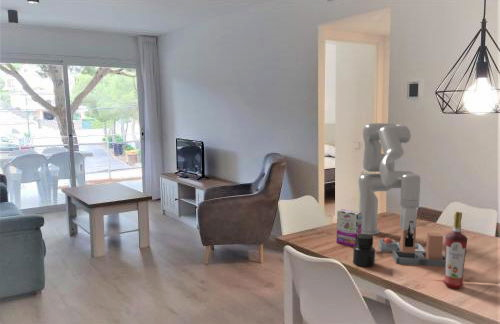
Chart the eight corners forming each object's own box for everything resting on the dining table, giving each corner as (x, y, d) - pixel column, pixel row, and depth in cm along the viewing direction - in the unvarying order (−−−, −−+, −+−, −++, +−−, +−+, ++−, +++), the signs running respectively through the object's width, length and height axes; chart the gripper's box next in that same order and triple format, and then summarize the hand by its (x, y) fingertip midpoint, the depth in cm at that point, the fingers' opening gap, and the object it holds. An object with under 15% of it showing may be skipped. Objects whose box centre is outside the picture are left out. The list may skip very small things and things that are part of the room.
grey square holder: (380, 252, 194) (381, 243, 194) (378, 248, 201) (378, 238, 201) (396, 253, 193) (397, 244, 193) (393, 248, 200) (394, 239, 200)
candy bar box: (361, 245, 204) (363, 212, 202) (356, 248, 201) (357, 214, 199) (341, 240, 212) (342, 208, 210) (335, 243, 208) (337, 210, 206)
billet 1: (402, 252, 180) (403, 224, 178) (399, 248, 185) (401, 221, 183) (414, 253, 179) (416, 225, 178) (411, 249, 184) (413, 222, 183)
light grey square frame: (399, 255, 191) (400, 249, 191) (395, 247, 202) (395, 242, 202) (425, 256, 190) (425, 251, 189) (419, 248, 200) (419, 243, 200)
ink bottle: (379, 265, 179) (381, 237, 177) (365, 269, 174) (366, 240, 172) (362, 258, 187) (363, 231, 185) (347, 262, 182) (348, 235, 180)
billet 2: (428, 263, 179) (430, 235, 177) (425, 259, 184) (427, 232, 182) (441, 264, 178) (442, 236, 177) (437, 259, 183) (439, 233, 182)
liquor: (442, 288, 155) (447, 213, 152) (441, 281, 162) (446, 209, 159) (465, 291, 153) (470, 215, 149) (462, 284, 160) (468, 211, 156)
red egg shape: (384, 248, 196) (385, 239, 195) (383, 246, 199) (384, 237, 198) (391, 249, 195) (391, 239, 195) (390, 247, 198) (390, 237, 198)
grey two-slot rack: (396, 265, 178) (397, 258, 178) (392, 257, 188) (392, 250, 188) (449, 268, 175) (449, 260, 175) (441, 260, 185) (442, 253, 185)
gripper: (396, 198, 188) (394, 238, 190) (404, 207, 172) (402, 250, 174) (413, 199, 187) (411, 239, 189) (424, 207, 171) (421, 251, 173)
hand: (407, 244), depth 182 cm, fingers closed on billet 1, 5 cm apart
